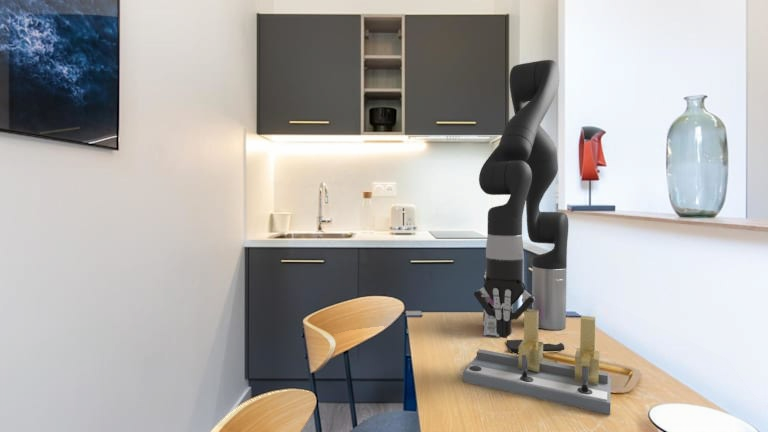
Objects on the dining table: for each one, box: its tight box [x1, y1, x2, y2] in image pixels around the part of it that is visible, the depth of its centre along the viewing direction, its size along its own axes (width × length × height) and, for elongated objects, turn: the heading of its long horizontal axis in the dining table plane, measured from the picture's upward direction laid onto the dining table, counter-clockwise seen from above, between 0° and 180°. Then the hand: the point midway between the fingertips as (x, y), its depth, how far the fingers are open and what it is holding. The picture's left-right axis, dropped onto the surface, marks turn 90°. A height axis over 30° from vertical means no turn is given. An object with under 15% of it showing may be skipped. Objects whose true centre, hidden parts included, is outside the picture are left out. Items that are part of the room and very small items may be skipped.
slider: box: [518, 308, 544, 377], centre depth 81 cm, size 10×4×11 cm, turn 151°
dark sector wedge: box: [506, 339, 565, 354], centre depth 100 cm, size 8×14×2 cm, turn 80°
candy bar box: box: [482, 269, 500, 338], centre depth 113 cm, size 11×5×16 cm, turn 164°
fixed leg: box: [574, 315, 600, 392], centre depth 76 cm, size 10×4×12 cm, turn 151°
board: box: [462, 349, 612, 415], centre depth 81 cm, size 12×26×4 cm, turn 61°
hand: (503, 336), depth 87 cm, fingers closed
